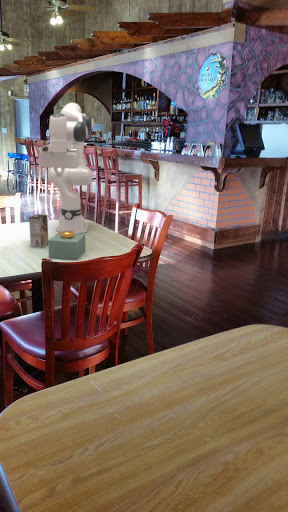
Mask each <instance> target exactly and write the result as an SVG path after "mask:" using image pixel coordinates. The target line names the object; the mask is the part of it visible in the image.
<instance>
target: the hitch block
mask: <svg viewBox="0 0 288 512" xmlns="http://www.w3.org/2000/svg"><path fill="white" fill-rule="evenodd" d="M85 252H86V233H79V234H76V233H74V238H72V239H63V238H61V232H59V231H57V233H55V235H53V236H52V237H50V238H48V259H55V260H69V261H70V260H71V261H78V260H79V259H80V258H81V256H82V255H83V254H84V253H85Z"/></svg>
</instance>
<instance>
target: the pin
mask: <svg viewBox="0 0 288 512" xmlns="http://www.w3.org/2000/svg"><path fill="white" fill-rule="evenodd" d="M61 238H63V239H72V238H74V231H61Z"/></svg>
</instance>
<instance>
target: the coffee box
mask: <svg viewBox="0 0 288 512" xmlns="http://www.w3.org/2000/svg"><path fill="white" fill-rule="evenodd" d="M28 219H29V220H28V221H29V239H30V240H29V241H30V242H29V243H30V248H39V249H42V248H43V247H45V246H47V245H49V241H48V240H49V224H48V223H49V222H48V214H42V213H41V214H40V213H37V214H33V215H32V216H30V217H28Z"/></svg>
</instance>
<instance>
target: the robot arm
mask: <svg viewBox="0 0 288 512" xmlns="http://www.w3.org/2000/svg"><path fill="white" fill-rule="evenodd" d="M94 126H95V121H94V117H93V116H92V115H91V114H89V113H82V108H81V107H80V105H79V104H78V103H76V102H68V103H66V104H65V105H64V106H63V108H62V109H61V111H60V113H52V114H50V116H49V126H48V135H49V144H46V145H43V146H41V147H39V151H40V152H39V153H38V154H39V155H38V165H39V167H40V168H44V167H45V168H50V169H49V170H48V174H47V175H48V180H49V181H50V182H51V184H53V185H54V186H55V187H56V189H58V192H59V194H60V200H61V208H60V214H61V215H60V216H59V217H58V228H56V232H61V231H74V233H76V234H86V233H87V232H88V228H89V227H88V225H86V224H85V218H84V217H83V215H82V213H83V212H82V207H81V196H80V194H79V193H78V192H77V191H75V190H73V189H72V187H71V186H74V187H75V186H78V187H83V186H89V185H90V184H91V183H92V182H93V179H94V174H93V171H92V169H90V167H88V166H87V164H85V162H84V152H85V151H84V149H85V141H86V140H87V138H88V135H89V134H90V133H92V131H93V128H94Z"/></svg>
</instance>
